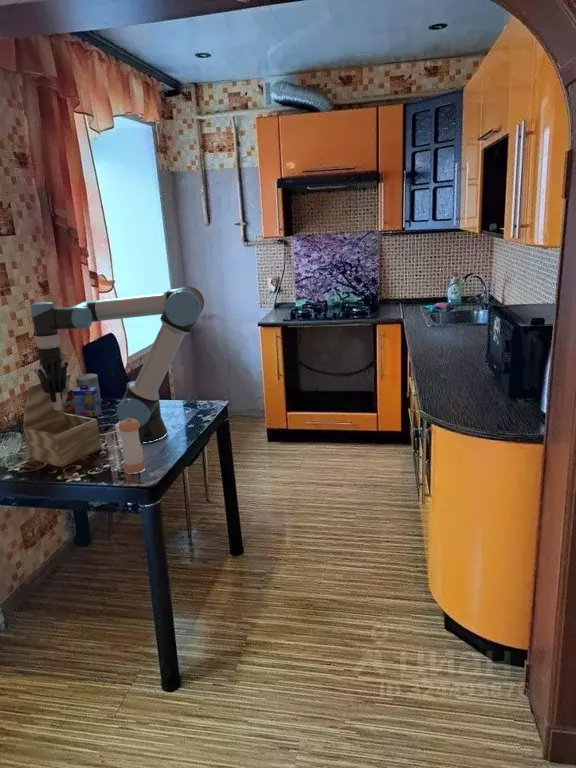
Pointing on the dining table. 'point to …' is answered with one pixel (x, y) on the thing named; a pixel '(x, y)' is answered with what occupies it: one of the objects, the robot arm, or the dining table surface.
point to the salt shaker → (131, 446)
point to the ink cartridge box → (86, 401)
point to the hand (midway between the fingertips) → (58, 409)
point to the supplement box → (69, 403)
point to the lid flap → (42, 404)
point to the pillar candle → (88, 381)
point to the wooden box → (62, 439)
